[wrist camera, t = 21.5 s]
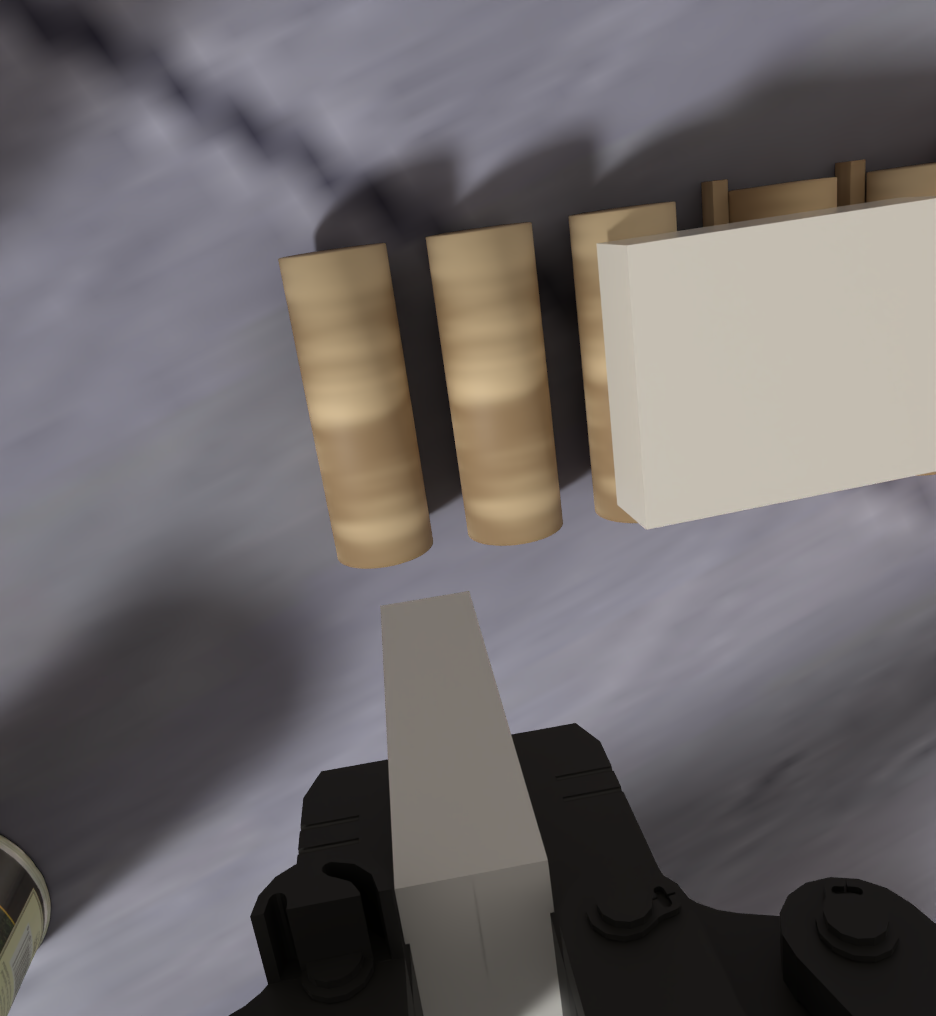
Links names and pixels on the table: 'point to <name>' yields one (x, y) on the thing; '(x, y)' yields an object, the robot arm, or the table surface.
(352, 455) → the roller bed
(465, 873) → the robot arm
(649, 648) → the table surface
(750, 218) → the roller
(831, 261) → the slab
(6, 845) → the coffee can
